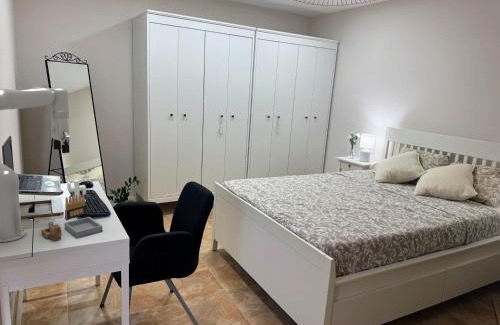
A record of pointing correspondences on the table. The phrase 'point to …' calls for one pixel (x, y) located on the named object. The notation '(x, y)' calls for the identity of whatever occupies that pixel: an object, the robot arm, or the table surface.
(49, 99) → the robot arm
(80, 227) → the tray
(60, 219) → the table surface
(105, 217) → the table surface
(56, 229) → the wooden block toy
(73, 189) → the figurine
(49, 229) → the stake
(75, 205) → the ammunition clip
